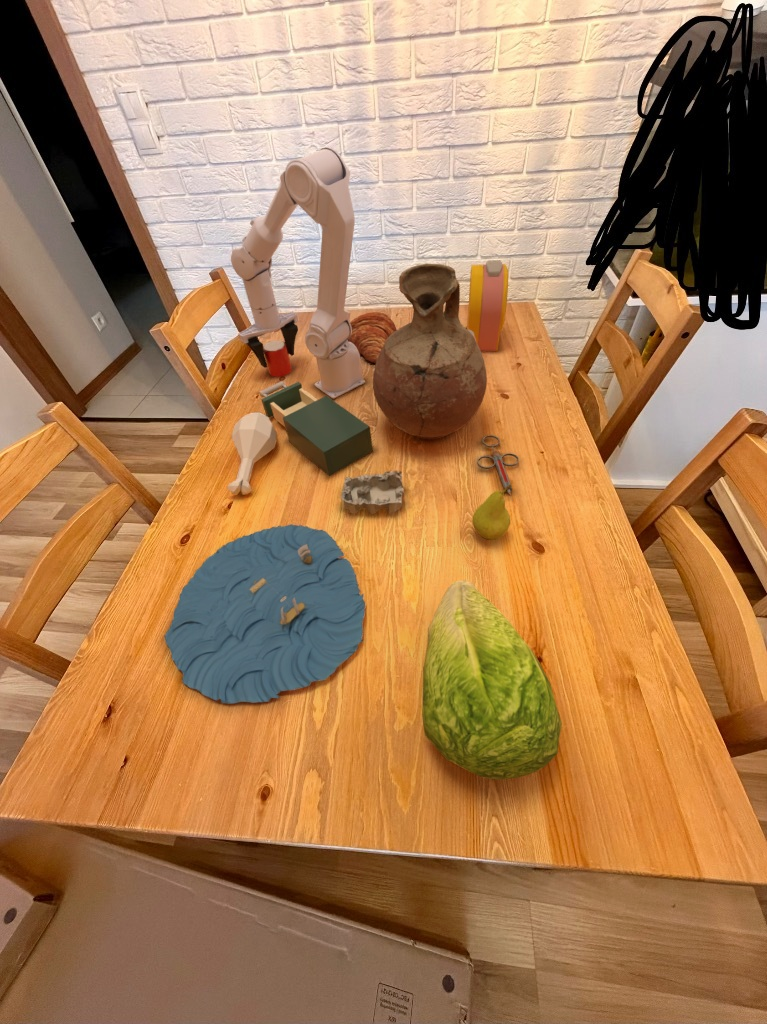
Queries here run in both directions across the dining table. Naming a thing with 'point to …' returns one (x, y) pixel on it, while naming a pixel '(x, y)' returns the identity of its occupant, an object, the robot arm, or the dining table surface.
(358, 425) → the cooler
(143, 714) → the dining table surface
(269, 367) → the drink tin
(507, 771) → the lettuce
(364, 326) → the pastry
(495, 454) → the syringe
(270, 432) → the chicken leg
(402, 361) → the jug
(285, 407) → the green drawer
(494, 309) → the alarm clock
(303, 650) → the blue ocean wave diorama
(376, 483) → the grey jagged hollow block
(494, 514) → the fruit
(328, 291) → the robot arm
